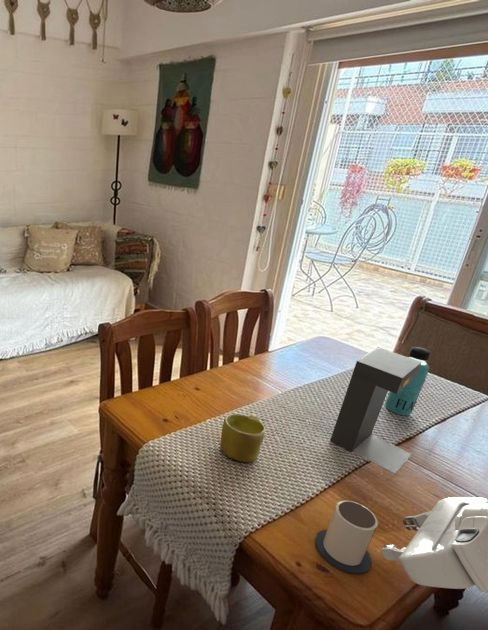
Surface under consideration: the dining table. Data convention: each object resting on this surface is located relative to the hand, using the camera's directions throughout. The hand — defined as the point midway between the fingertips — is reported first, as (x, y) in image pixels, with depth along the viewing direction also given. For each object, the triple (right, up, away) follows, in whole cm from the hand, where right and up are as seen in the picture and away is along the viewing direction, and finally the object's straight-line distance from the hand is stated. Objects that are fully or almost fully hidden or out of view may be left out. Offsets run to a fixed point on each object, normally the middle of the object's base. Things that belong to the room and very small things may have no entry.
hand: (395, 537), depth 74 cm
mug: (-13, +5, +33) cm, 36 cm away
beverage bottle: (+36, +10, +49) cm, 62 cm away
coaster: (-4, -7, +8) cm, 11 cm away
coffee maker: (+19, +4, +34) cm, 39 cm away
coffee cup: (-4, -6, +8) cm, 11 cm away
